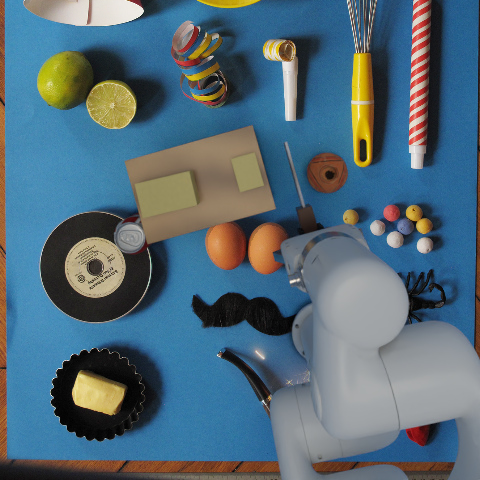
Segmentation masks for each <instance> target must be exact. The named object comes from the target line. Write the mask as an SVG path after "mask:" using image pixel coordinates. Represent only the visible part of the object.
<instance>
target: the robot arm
mask: <svg viewBox="0 0 480 480" xmlns="http://www.w3.org/2000/svg"><path fill="white" fill-rule="evenodd" d="M316 223H317V227H318V231H314V232H311V233H307V234H305V232H304V231H303V230H302V228H301V227H297V228H296V230H297V234H296V235H294V236H293V237H290V238H287V239H284V240H283V241H282V242H281V244H280V248H279V249H277V250H274V251H272V256H273V260H274V262H276V263H279V264H284V265H285V266H284V268H285V271H286V274H287V278H288V283H289V285H290V288H295V287H296V288H297V289H298V290H300V291H301V292H303V293H305V294H308V296H309V298H310V300H311V302H310V303H308V304H306V305H305V306H303V307H302V308H300V310H299V311H298V312H297V314H296V315H295V317H294V319H293V322H292V326H291V337H292V342H293V345H294V346H295V349H296V350H297V351H298V352H299V354H300V355H301V356H302V357H303V358H304V359H305V360H306V364H307V368H308V371H309V381H305V382H301V383H296V384H292V385H288V386H284V387H282V388H278V390H276V391H274V393H273V394H272V396H271V398H270V400H269V401H270V402H269V417H270V418H269V419H270V424H271V429H272V430H271V431H272V435H273V436H272V437H273V442H274V448H275V452H276V457H277V463H278V468H279V473H280V479H281V480H410V479H409V477H408V476H407V474H405V472H404V471H403V469H401V468H400V467H398V466H396V465H393V464H387V463H385V464H374V465H367V466H362V467H356V468H351V469H348V470H341V471H338V472H333V473H328V474H321V473H319V472H317V471H316V470H315V468H314V467H313V466H314V465H313V464H319V463H322V462H327V461H333V460H337V459H345V458H350V457H354V456H359V455H365V454H368V453H373V452H376V451H379V450H382V449H384V448H386V447H388V446H390V445H391V444H393V443H394V442H395V441H396V440H397V439H398V437H399V435H400V433H401V431H403V430H407V429H414V428H418V427H422V426H427V425H428V426H429V425H431V424H436V423H442V422H446V421H450V420H454V421H455V425H456V430H457V439H458V441H457V443H458V444H457V452H456V453H457V454H456V457H455V461H454V465H453V467H452V470H451V472H450V474H449V476H448V477H447V479H446V480H480V357H479V355H478V353H477V350H476V349H475V347H474V346H473V344H472V343H471V342H470V340H469V338H468V337H467V336H466V335H465V334H464V333H463V331H461V330H460V329H459V328H458V327H456V326H454V325H453V324H451V323H449V322H447V321H442V320H435V319H434V320H433V319H432V320H425V321H420V322H414V323H409V324H406V323H407V320H408V316H409V310H410V309H409V308H410V302H409V301H410V300H409V294H408V291H407V288H406V286H405V283H404V281H403V279H402V278H401V277H400V276H399V274H398V273H397V271H395V270H394V268H392V266H390V265H389V264H388V263H387V262H385V261H384V260H383V259H382V258H380V257H379V256H378V255H376V254H375V253H374V252H373V251H371V248H370V245H369V244H368V242H367V240H366V237H365V236H364V232H363V228H361V227H357V226H355V225H354V224H351V223H350V222H349V223H348V222H347V223H341V224H338V225H333V226H325V225H323V224H322V222H320V221H319V222H316Z"/></svg>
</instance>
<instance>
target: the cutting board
mask: <svg viewBox="0 0 480 480" xmlns="http://www.w3.org/2000/svg"><path fill="white" fill-rule="evenodd" d="M253 152H255V155H256V158H257V162H258V165H259V169H260V172H261V176H262V179H263V183H264V186H262V187H258V188H254V189H251V190H247V191H244V192H240V191H239V187H238V183H237V180H236V176H235V173H234V169H233V166H232V162H231V159H232V158H236V157H239V156H243V155H246V154H250V153H253ZM124 166H125V169H126V172H127V175H128V176H127V177H128V179H129V182H130V183H129V184H130V187H131V190H132V195H133V197H134V201H135V204H136V208H137V211H138V212H139V215H140V219H141V223H142V226H143V230H144V233H145V237H146V240H147V244H151V243H152V244H154V243H158V242H161V241H165V240H169V239H171V238H173V239H174V238H176V237H179V236H183V235H187V234H192V233H194V232H198V231H201V230H205V229H210V228H213V227H216V226H220V225H223V224H226V223H230V222H234V221H237V220H242V219H245V218H249V217H252V216H256V215H260V214H263V213H266V212H270V211H273V210H276V209H277V206H276V203H275V200H274V196H273V192H272V189H271V185H270V182H269V178H268V173H267V171H266V167H265V164H264V161H263V157H262V154H261V150H260V146H259V142H258V138H257V135H256V132H255V128H254V125H253V124H251V125H248V126H247V125H246V126H244V127H240V128H236V129H233V130H229V131H225V132H222V133H219V134H215V135H212V136H209V137H204V138H200V139H198V140H195V141H190V142H187V143H184V144H183V143H182V144H179V145H177V146H173V147H169V148H165V149H162V150H159V151H155V152H152V153H148V154H144V155H140V156H137V157H134V158H129V159H127V160H124ZM191 170H193V173H194V178H195V182H196V186H197V190H198V194H199V198H200V203H199V204H198V205H197V206H193V207H189V208H184V209H180V210H176V211H172V212H167V213H163V214H159V215H155V216H151V217H146V218H143V217H142V213H141V209H140V205H139V201H138V196H137V192H136V188H135V184H137V183H141V182H145V181H149V180H153V179H157V178H162V177H166V176H170V175H174V174H178V173H182V172H187V171H191ZM138 212H137V213H138ZM152 244H151V245H152Z"/></svg>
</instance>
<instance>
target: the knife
mask: <svg viewBox="0 0 480 480" xmlns="http://www.w3.org/2000/svg"><path fill="white" fill-rule="evenodd" d="M282 144H283V147H284V150H285V151H284V152H285V154H286V158H287V161H288V165H289V168H290V172H291V176H292V179H293V183H294V186H295V187H294V188H295V190H296V194H297V197H298V201H299V205H298V206H295V207H294V208H295V213H296V215H297V219H298V223H299V226H300V228H302V230H303V231H304V232H305V234H307V233H311V232H314V231H318V227H317V223H318V222H317V219H316V216H315V212H314V209H313V206H312V205H311V204H310V203H306V204H305V200H304V197H303V193H302V190H301V186H300V182H299V178H298V175H297V172H296V169H295V165H294V161H293V158H292V154H291V150H290V147H289V144H288V141H284V142H283V143H282Z"/></svg>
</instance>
